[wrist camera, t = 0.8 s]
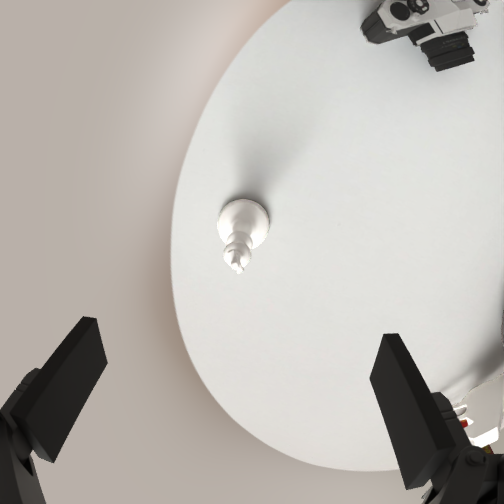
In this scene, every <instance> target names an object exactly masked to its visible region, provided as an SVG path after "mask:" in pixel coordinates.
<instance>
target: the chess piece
mask: <svg viewBox="0 0 504 504" xmlns="http://www.w3.org/2000/svg"><path fill="white" fill-rule="evenodd" d="M268 231H269V218H268V215H267V213H266V211H265V210H264V209H263V207H262V206H260V205H259V204H258V203H256V202H254V201H251V200H247V199H239V200H235V201H232V202H230V203H229V204H227V205H226V206H225V207H224V208H223V209H222V211H221V212H220V214H219V217H218V232H219V235H220V237H221V238H222V240H223V241H224V242H225V243H226V248H225V249H224V254H223V255H224V259H225V261H226V263H227V264H228V265H230V266H231V267H232V269H233V270H236V272H237V274H239V273H242V272H243V271H244V269H243V266H245V265H247V264H248V263H249V261H250V259H251V250H252V249H253V248H255V247H257V246H258V245H260V244H261V243H262V242H263V241H264V239H265V238H266V236H267V234H268Z"/></svg>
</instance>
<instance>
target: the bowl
mask: <svg viewBox="0 0 504 504" xmlns="http://www.w3.org/2000/svg"><path fill="white" fill-rule="evenodd" d="M501 332H502V344H503V349H504V312H503V317H502V327H501Z"/></svg>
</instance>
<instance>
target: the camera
mask: <svg viewBox="0 0 504 504" xmlns="http://www.w3.org/2000/svg"><path fill="white" fill-rule="evenodd" d="M489 4H490V2H489V1H488V0H385V1H384V2H383V3H381V4H380V5H379V7H378V8H377V9H376V10H375V11H374V12H373V13H372V14H371V15H370V16H369V17H368V18H367V19H365V21H364V22H363V24H362V26H361V28H360V30H361V32H362V34H363V35H364V37H365V39H366V41H367V42H368V43H372V44H376V45H378V44H381V43H384V42H387V41H390V40H394V39H397V38H400V37H404V36H407V35H408V37H409V38H410V40H411V41H412V43H413V45H415V46H420V47H421V50H422V52H424V53H425V54H426V55H427V57H428V59H429V60H428V62H429V64H430V66H431V67H435V69H436V72H438V71H442V70H445V69H449V68H452V67H456V66H459V65H462V64H466V63H469V62H472V61H475V60H474V58H473V56H472V55H473V54H475V53H474V51H473V49H472V47H470V45H469V43H468V36H467V34H466V33H465V30H469V29H473V27H474V26H477V25H478V23H477V21H476V18H475V16H474V14H476V13H479V12H481V11H482V12H481V13H480V14H483V13H487V12H488V9H487V8H488V6H489ZM485 10H486V11H485Z"/></svg>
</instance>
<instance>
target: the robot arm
mask: <svg viewBox="0 0 504 504" xmlns="http://www.w3.org/2000/svg"><path fill="white" fill-rule="evenodd" d="M107 363H108V362H107V359H106V355H105V351H104V348H103V344H102V340H101V336H100V332H99V328H98V323H97V319H96V318H90V317H84V316H83V317H82V318H81V319H80V321H79V322H78V323H77V324H76V326H75V327H74V328H73V329H72V330H71V331H70V333H69V334H68V335H67V336H66V338H65V339H64V340H63V341H62V343H61V344H60V345H59V346H58V348H57V349H56V350H55V352H54V353H53V354H52V355H51V357H50V358H49V359H48V361H47V362H46V363H45V364H44V366H43V367H42V368H41V369H38V368H35V369H33V370H32V371H31V372H29V373H28V374H27V375H26V376H25V377H24V378H23V380H22V381H21V384H19V385H18V386H17V388H16V390H14V392H13V393H12V394H11V396H10V397H9V398H8V400H7V401H6V402H5V404H4V405H3V407H2V408H1V409H0V504H46V502H45V499H44V496H43V493H42V490H41V487H40V483H39V480H38V477H37V473H36V470H35V466H34V463H33V459H32V457H31V455H30V453H31V452H32V450H34V451H35V453H36V454H37V456H38V457H39V458H41V459H44V460H46V461H49V462H51V463H54V462H55V460H56V458H57V456H58V454H59V452H60V450H61V448H62V446H63V444H64V442H65V440H66V438H67V436H68V434H69V432H70V431H71V429H72V427H73V425H74V423H75V421H76V419H77V417H78V415H79V413H80V412H81V410H82V408H83V406H84V404H85V403H86V401H87V399H88V397H89V395H90V393H91V391H92V390H93V388H94V386H95V385H96V383H97V381H98V379H99V378H100V376H101V374H102V372H103V371H104V369H105V367H106V365H107ZM369 379H370V381H371V384H372V387H373V390H374V393H375V395H376V398H377V401H378V404H379V407H380V410H381V413H382V416H383V418H384V421H385V424H386V427H387V430H388V433H389V436H390V439H391V443H392V446H393V449H394V452H395V455H396V458H397V461H398V465H399V468H400V471H401V475H402V478H403V481H404V485H405V488H406V490H408V489H413V488H418V487H421V486H424V485H425V484H426V483H427V481H428V480H429V479H431V482H432V485H433V486H431V487H430V489H429V490H428V491H427V492H426V493H425V494H424V495H423V496H422V499H424V498H425V499H424V501H423V503H422V504H504V454H487V453H486V452H485V450H484V449H482V448H481V447H479V446H474V445H472V444H471V442H470V440H469V438H468V436H467V434H466V432H465V430H464V428H463V426H462V424H461V422H460V420H459V418H457V415H456V413H455V411H453V407H452V405H451V403H450V402H449V400H448V399H447V398H446V397H445V396H444V395H443V394H442V393H441V392H437V393H431V392H430V390H429V388H428V386H427V385H426V383H425V381H424V379H423V377H422V375H421V373H420V371H419V370H418V368H417V366H416V364H415V362H414V360H413V359H412V357H411V355H410V353H409V351H408V350H407V348H406V346H405V344H404V343H403V341H402V339H401V337H400V336H399V334H398V333H393V334H383V337H382V340H381V344H380V347H379V350H378V354H377V357H376V360H375V363H374V366H373V369H372V372H371V375H370V378H369Z"/></svg>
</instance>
